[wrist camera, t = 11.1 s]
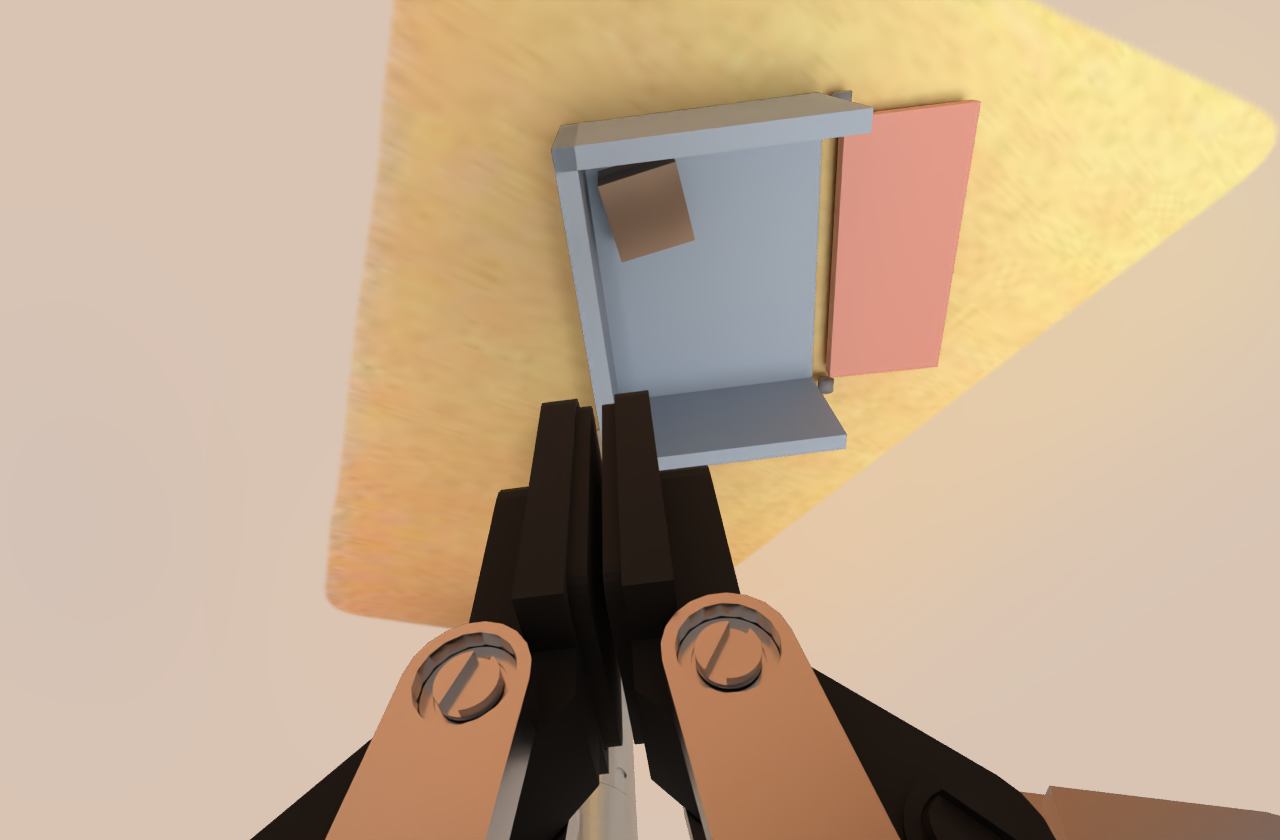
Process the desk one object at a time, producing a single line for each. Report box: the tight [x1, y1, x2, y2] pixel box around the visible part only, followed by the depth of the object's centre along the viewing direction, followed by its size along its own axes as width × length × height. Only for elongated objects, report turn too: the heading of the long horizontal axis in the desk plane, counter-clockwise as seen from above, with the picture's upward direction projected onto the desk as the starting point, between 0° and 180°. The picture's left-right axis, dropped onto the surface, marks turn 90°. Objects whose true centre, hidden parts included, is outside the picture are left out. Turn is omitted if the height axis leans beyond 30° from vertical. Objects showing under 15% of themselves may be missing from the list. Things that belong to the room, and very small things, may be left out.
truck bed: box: [551, 91, 873, 471], centre depth 35 cm, size 18×15×8 cm
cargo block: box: [598, 158, 695, 262], centre depth 33 cm, size 4×4×4 cm
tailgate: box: [826, 100, 981, 378], centre depth 37 cm, size 16×1×7 cm
